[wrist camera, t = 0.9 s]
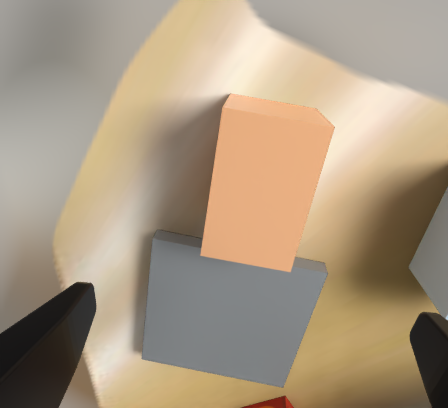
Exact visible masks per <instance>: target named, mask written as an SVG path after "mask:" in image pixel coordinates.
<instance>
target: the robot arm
mask: <svg viewBox="0 0 448 408" xmlns="http://www.w3.org/2000/svg"><path fill="white" fill-rule="evenodd" d="M95 312H96V299H95V292H94V286H93V284H92V283H87V282H76V283H74V284H73V285H71V286H70V287H68V288H67V289H66V290H64V291H63V292H61V293H60V294H58V295H57V296H55V297H54V298H52V299H51V300H49V301H48V302H46V303H45V304H44V305H42V306H41V307H39V308H38V309H36V310H35V311H33V312H32V313H30V314H29V315H27V316H26V317H24V318H23V319H21V320H20V321H18V322H17V323H15V324H14V325H12V326H11V327H9V328H8V329H7V330H5V331H4V332H2V333H1V334H0V408H59V406H60V403H61V401H62V399H63V397H64V394H65V393H66V390H67V388H68V386H69V384H70V382H71V379H72V377H73V375H74V373H75V370H76V368H77V365H78V363H79V360H80V357H81V354H82V351H83V348H84V345H85V342H86V339H87V336H88V333H89V331H90V328H91V325H92V322H93V319H94V316H95ZM410 342H411V345H412V349H413V352H414V355H415V358H416V361H417V364H418V368H419V371H420V374H421V377H422V380H423V384H424V387H425V390H426V393H427V396H428V398H429V401H430V403H431V406H432V408H448V320H447V319H445V318H444V317H442V316H441V315H439V314H437V313H430V312H422V313H420V314H419V316H418V318H417V320H416V322H415V324H414V326H413V328H412V330H411V332H410Z"/></svg>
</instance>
